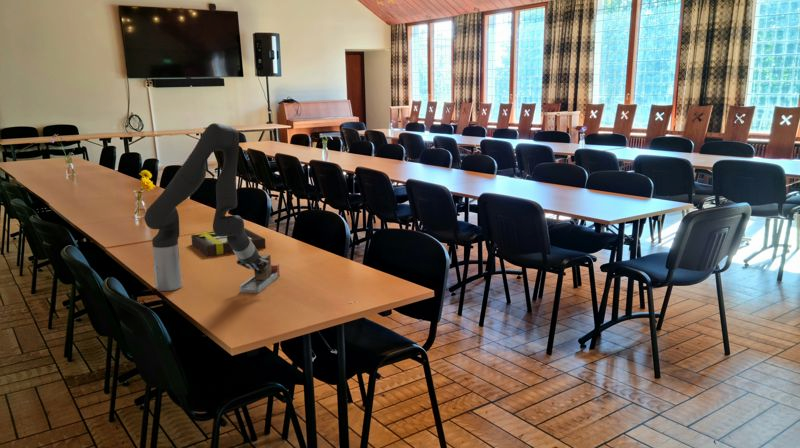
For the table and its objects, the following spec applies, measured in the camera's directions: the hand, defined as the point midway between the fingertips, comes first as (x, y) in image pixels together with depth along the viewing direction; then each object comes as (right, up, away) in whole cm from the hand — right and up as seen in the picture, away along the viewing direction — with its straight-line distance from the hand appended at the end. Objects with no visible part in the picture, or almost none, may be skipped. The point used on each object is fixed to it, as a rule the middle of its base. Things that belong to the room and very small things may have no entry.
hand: (259, 272), depth 239 cm
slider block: (+1, -3, +4) cm, 5 cm away
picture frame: (-30, +7, +61) cm, 69 cm away
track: (0, -5, +1) cm, 5 cm away
